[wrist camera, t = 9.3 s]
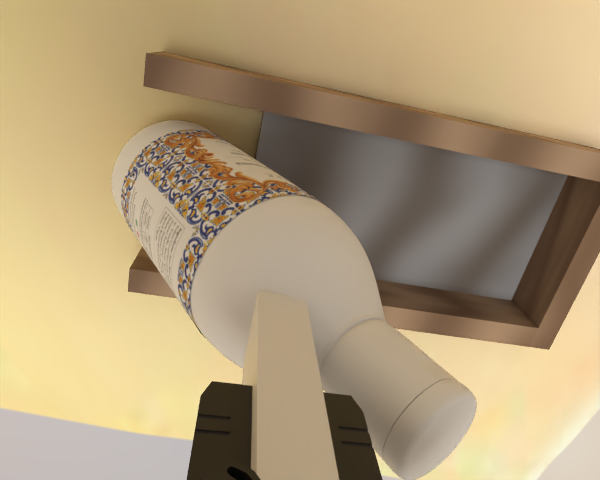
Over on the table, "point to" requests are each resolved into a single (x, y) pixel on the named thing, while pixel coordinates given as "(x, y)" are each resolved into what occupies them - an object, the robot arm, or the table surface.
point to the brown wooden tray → (422, 201)
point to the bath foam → (284, 281)
